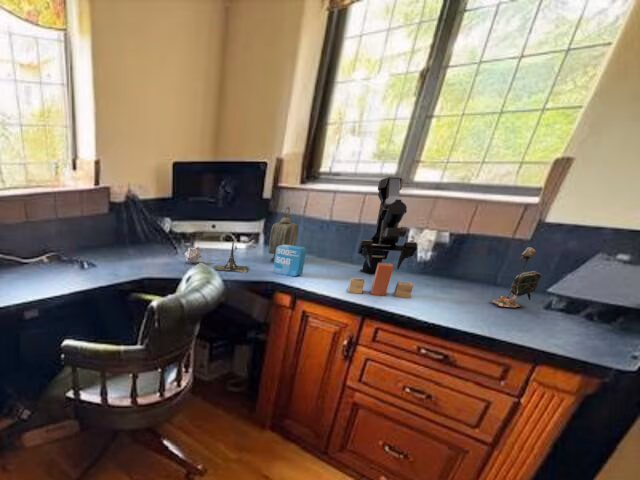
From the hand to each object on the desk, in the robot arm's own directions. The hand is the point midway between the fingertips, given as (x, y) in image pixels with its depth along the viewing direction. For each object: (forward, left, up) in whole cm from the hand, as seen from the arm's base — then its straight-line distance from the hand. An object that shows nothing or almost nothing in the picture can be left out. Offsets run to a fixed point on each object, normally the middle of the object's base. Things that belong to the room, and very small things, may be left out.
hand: (384, 267), depth 157 cm
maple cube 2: (-5, +6, -9) cm, 12 cm away
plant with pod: (-30, +27, -10) cm, 42 cm away
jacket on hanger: (+4, -60, -10) cm, 61 cm away
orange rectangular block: (+1, +1, -9) cm, 10 cm away
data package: (+16, -36, -10) cm, 40 cm away
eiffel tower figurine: (+35, -53, -10) cm, 64 cm away
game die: (+48, -70, -10) cm, 85 cm away
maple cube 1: (+7, -4, -9) cm, 12 cm away
